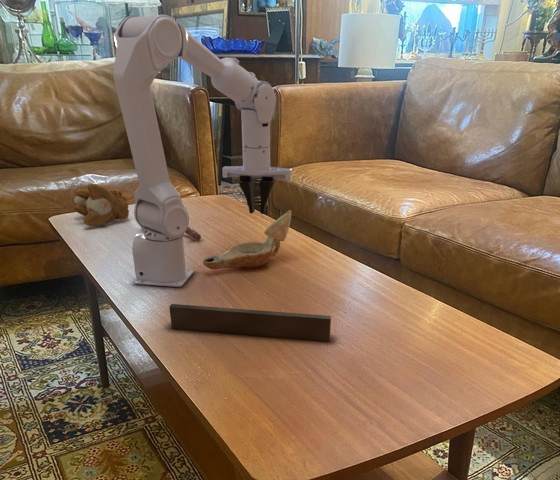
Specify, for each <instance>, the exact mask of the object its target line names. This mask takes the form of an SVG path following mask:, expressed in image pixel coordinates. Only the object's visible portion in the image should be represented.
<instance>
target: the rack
mask: <svg viewBox="0 0 560 480" xmlns="http://www.w3.org/2000/svg"><path fill="white" fill-rule="evenodd" d="M168 309H169V317H170V325H171V327H170V328H171V329H173V330H185V331H196V332H197V331H198V332H207V333H208V332H209V333H220V334H232V335H233V334H234V335H244V336H245V335H246V336H256V337H258V336H259V337H269V338H280V339H294V340H305V341H318V342H328V343H329V342H330V341H331V332H332V331H331V328H332V315H324V314H314V313H313V314H311V313H297V312H287V311H286V312H285V311H284V312H283V311H271V310H258V309H246V308H235V307H234V308H233V307H232V308H231V307H220V306H207V305H206V306H205V305H193V304H192V305H191V304H182V303H181V304H180V303H171V304H170V305H169V308H168Z"/></svg>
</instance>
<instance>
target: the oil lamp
mask: <svg viewBox="0 0 560 480" xmlns="http://www.w3.org/2000/svg"><path fill="white" fill-rule="evenodd" d="M291 220H292V210H291V209H289V210H288V211H286V212H285V213H284V214H283V215H281V216H280V217H278V218H277V219H276V220H274V221H273V222H272V223H271V224H270V225H269V226H268V227H267V228H266V229H265V230H264V232H263V234H264V235H265V236H266V237H267V238H266V240H265V241H264V242H258V241H246V242H240V243H237V244H234V245H232V246H230V247H227V251H226V252H224V253H221V254H214V255H210V256H206V257H204V259H203V260H202V264H203V266H205V267H206V268H208V269H210V270H220V269H231V268H232V269H233V268H249V269H254V268H260V267H262V266H263V265H266V263H268V261H269V260H270V259H271V258H273V257H274V256H276V255H277V254H278V253H279V250H280V247H281V242H284V241H285V240H286V238H287V236H288V232H289V228H290V225H291V222H292V221H291Z"/></svg>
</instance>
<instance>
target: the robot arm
mask: <svg viewBox="0 0 560 480" xmlns="http://www.w3.org/2000/svg"><path fill="white" fill-rule="evenodd" d="M113 38H114V42H115V46H116V49H115V56H114V64H113V71H112V72H113V75H112V76H113V82H114V87H115V90H116V94H117V99H118V102H119V107H120V111H121V115H122V119H123V123H124V127H125V132H126V136H127V139H128V143H129V149H130V152H131V156H132V160H133V165H134V169H135V172H136V176H137V181H138V184H139V186H138V187H137V188H136V190H135V191H134V192H133V197H134V210H133V216H134V219H135V222H136V223H137V224H138V225H139V227H140V228H141V227H142V228H141V230H142V229H143V230H142V233H137V234H136V235H135V236H134V237H133V240H132V245H131V246H132V247H131V249H132V251H131V252H132V260H133V266H134V267H133V268H134V275H135V279H136V280H135V281H134V284H135V285H145V286H161V287H173V288H181V287H182V286H184V285H185V283H186V282H187V281H188V280H189V279H190V277H191V276H192V275H193V274H194V270H193V269H187V266H186V256H185V255H186V254H185V246H184V245H185V244H184V243H185V242H184V237H185V234H186V233H185V231H186V230H187V228H188V227H189V224H190V214H189V211H188V209H187V207H185V205H184V203H183V201H182V197H181V194H180V193H179V191H178V189H176V188H175V186H174V185H173V184H172V182H171V179H170V175H169V171H168V170H169V169H168V166H167V160H166V155H165V152H164V147H163V143H162V136H161V131H160V128H159V127H160V126H159V123H158V119H157V113H156V108H155V103H154V98H153V94H152V89H151V86H152V84H153V82H154V80H155V79H156V77H157V75H158V74H159V73H160V72H161V71H163V70H164V69H165V68H166V67H168V66H169V65H170V64H171V63H172V62H174V60H176V58H179V59H180V60H182V61H184V62H186V63H187V64H188V65H191V67H194V68H195V69H197V70H199V71H200V72H202V73H204V74H205V75H207V76H208V77H210V81H211V85H212V87H213V88H214V89H216V90H217V91H218V92H220V93H221V94H223V95H224V96H226V97H227V98H229V99H231V101H232V102H233V101H234V104H235V107H236V108H237V110H238V111H240V112H241V116H240V117H241V143H242V144H241V145H242V148H241V149H242V165H240V166H239V165H236V166H234V165H233V166H228V165H227V166H223V167H222V168H221V171H222V172H221V173H222V178H223V179H224V178H225V179H228V178H239V180H238V186H239V188H240V190H241V191H242V193H243V195H244V198H245V200H246V203H247V207H248V210H249V214H254V212H255V211H256V210H255V209H256V205H255V204H256V203H255V180H256V179H260V181H259V191H260V209H259V210H260V214H261V215H265V214H266V211H267V204H268V200H269V196H270V193H271V190H272V188H273V185H274V183H275V181H276V180H285V181H290V180H291V179H292V168H284V167H277V166H271V122H272V119H273V112H274V109H275V107H276V104H277V96H276V95H275V90H274V88H273V87H272V85H271V83H269V82H268V81H265V80H258V78H257V77H256V74H255V73H254V72H252V71H248V70H246V69H245V68H244V67H243V66H241V65H240V60H239V59H237V58H236V57H222V58H219V57H218V56H217V55H216V54H215V53H213V52H212V51H211V50H210V49H209V48H208V47H207V46H205V45H204V44H203V43H201V41H200V40H198V39H197V38H196V37H195V36H194V35H192V34H191V33H190V32H189V31H188V30H187V28H186V27H185V25H184V24H182V23H180V22H178V21H176V20H175V19H174V18H173V17H172V16H170V15H168V14H158V15H147V16H138V15H129V16H127V17H125V18H124V19H123V20H122V21H121V23H120V24H119V26H118V27H117V29H116V31H115V32H114V34H113Z"/></svg>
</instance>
